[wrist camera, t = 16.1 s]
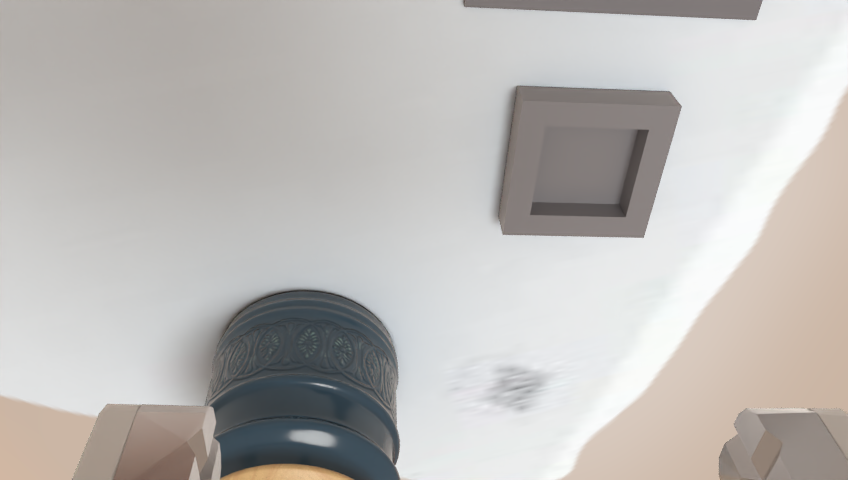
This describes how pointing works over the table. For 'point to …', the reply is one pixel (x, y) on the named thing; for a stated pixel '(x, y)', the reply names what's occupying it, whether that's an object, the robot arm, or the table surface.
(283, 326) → the canister
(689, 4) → the port
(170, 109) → the table surface
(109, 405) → the robot arm
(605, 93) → the grey square tray
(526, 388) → the table surface
